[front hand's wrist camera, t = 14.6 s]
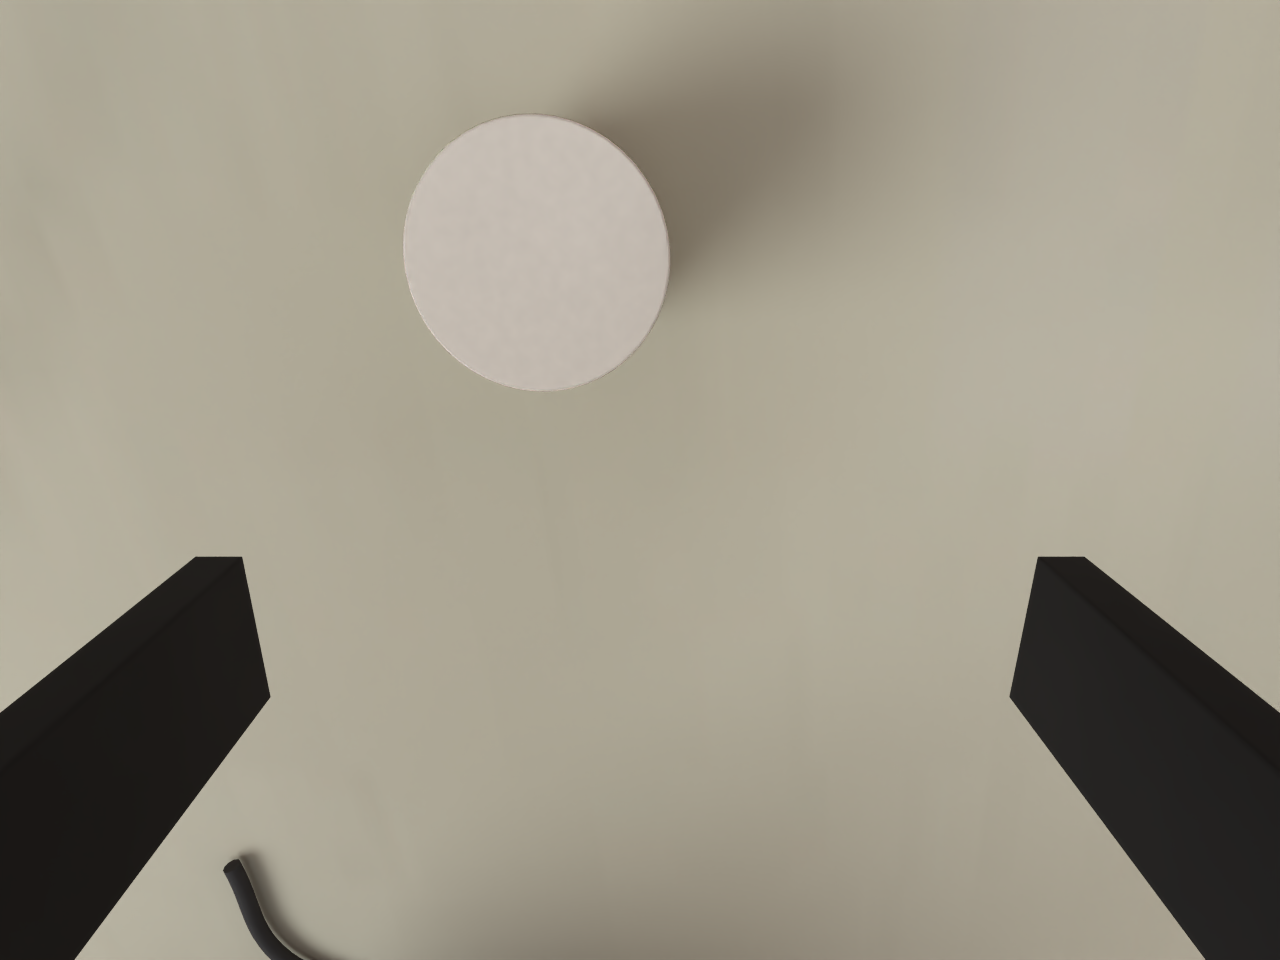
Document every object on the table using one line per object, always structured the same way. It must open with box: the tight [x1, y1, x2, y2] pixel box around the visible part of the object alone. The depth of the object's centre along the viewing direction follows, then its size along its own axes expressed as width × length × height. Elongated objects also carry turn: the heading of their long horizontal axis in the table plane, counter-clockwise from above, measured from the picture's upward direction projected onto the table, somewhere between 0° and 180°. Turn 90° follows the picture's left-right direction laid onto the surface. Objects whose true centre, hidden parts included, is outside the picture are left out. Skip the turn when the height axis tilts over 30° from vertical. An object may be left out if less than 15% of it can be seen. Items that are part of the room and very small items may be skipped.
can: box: [403, 114, 670, 391], centre depth 25 cm, size 7×7×9 cm
